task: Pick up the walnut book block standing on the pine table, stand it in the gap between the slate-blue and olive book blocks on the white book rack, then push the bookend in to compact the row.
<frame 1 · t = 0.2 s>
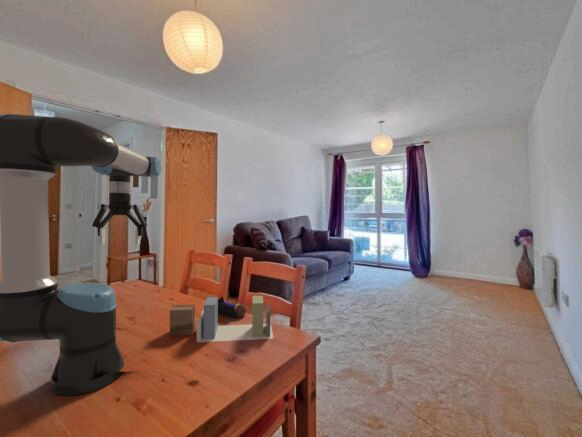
hand: (120, 244, 118), 28 cm above the table, fingers open, 13 cm apart
book c: (182, 336, 96), on the table
white book rack: (236, 336, 96), on the table
book b: (257, 331, 97), point 1 cm above the table, touching white book rack
character figurine: (228, 318, 113), on the table
book a: (210, 333, 95), point 1 cm above the table, touching white book rack
bookend: (267, 319, 98), point 6 cm above the table, slide at 0.0 cm
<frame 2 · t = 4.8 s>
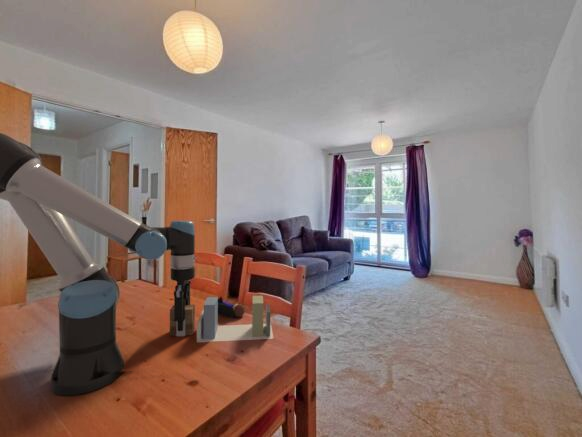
hand: (182, 335, 96), 0 cm above the table, fingers closed on book c, 4 cm apart
book c: (182, 336, 96), on the table, touching gripper
when the fingers open (3 cm above the table, at t = 10.0 s): book c drops 1 cm, resting on white book rack.
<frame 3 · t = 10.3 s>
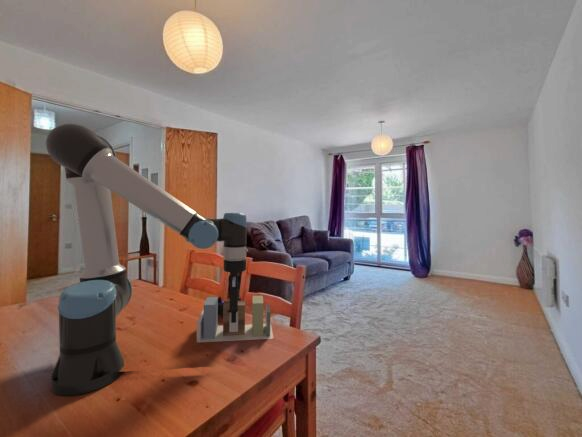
hand: (234, 325, 96), 4 cm above the table, fingers open, 8 cm apart
book c: (234, 332, 96), point 1 cm above the table, touching white book rack
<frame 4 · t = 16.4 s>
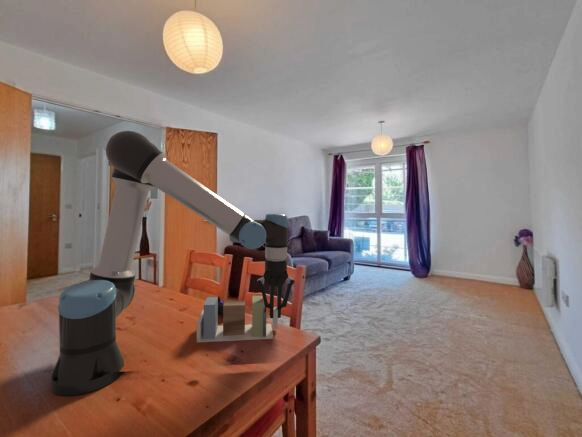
hand: (275, 327, 98), 3 cm above the table, fingers closed
book b: (257, 331, 97), point 2 cm above the table, touching hand
bookend: (264, 319, 98), point 6 cm above the table, slide at 1.3 cm, touching gripper
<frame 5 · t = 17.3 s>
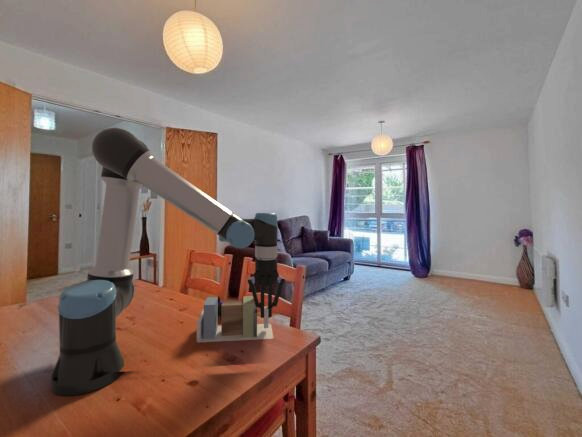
hand: (266, 326, 98), 3 cm above the table, fingers closed
book c: (232, 332, 96), point 2 cm above the table, touching book b, white book rack
book b: (248, 331, 97), point 2 cm above the table, touching book c, bookend, hand, white book rack
bookend: (255, 319, 97), point 6 cm above the table, slide at 4.3 cm, touching book b, gripper
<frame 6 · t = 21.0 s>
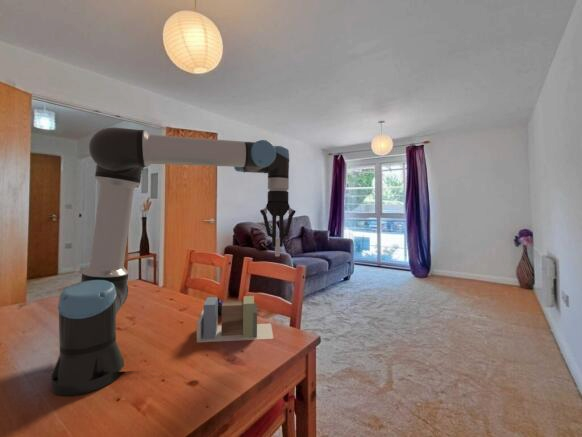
hand: (277, 255, 103), 26 cm above the table, fingers closed
book c: (232, 332, 96), point 1 cm above the table, touching white book rack
book b: (248, 331, 97), point 1 cm above the table, touching white book rack
bookend: (255, 319, 97), point 6 cm above the table, slide at 4.3 cm
at the end: book c inside the target area on the white book rack (0.3 cm from its centre), point 1.5 cm above the white book rack's base; book c tilted 0°; bookend slide at 4.3 cm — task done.
